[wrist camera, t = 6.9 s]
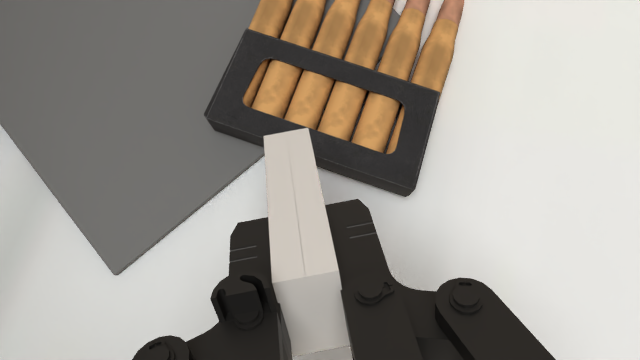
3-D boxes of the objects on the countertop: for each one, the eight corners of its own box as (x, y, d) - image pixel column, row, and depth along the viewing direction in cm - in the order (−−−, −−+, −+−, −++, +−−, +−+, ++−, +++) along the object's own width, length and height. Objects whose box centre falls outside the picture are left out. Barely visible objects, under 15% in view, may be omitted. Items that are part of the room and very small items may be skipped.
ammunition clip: (201, 116, 23) (289, -86, 26) (210, 128, 25) (291, -62, 28) (414, 190, 23) (484, -26, 25) (407, 197, 24) (473, -5, 27)
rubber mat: (-73, 23, 27) (-79, 19, 27) (210, -180, 29) (208, -186, 29) (117, 275, 25) (114, 275, 24) (412, 33, 27) (414, 30, 26)
